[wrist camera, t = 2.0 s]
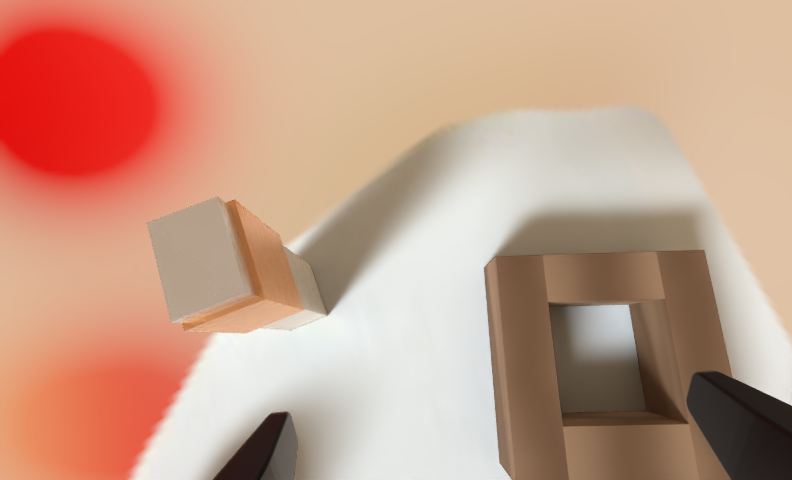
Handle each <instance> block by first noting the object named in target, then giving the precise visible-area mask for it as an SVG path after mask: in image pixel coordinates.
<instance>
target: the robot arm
mask: <svg viewBox="0 0 792 480" xmlns="http://www.w3.org/2000/svg"><path fill="white" fill-rule="evenodd" d="M686 404H687V407H688V410H689V412H690V414H691V415H692V417H693V419H694V420H695V422H696V424H697V425H698V427H699V429H700V430H701V432H702V433H703V435H704V437H705V438H706V440H707V442H708V443H709V445H710V447H711V448H712V450H713V452H714V453H715V455H716V457H717V458H718V460H719V462H720V463H721V465H722V467H723V468H724V470H725V471H726V473H727V474H728V476H729V478H730V479H731V480H792V406H791V405H789V404H787V403H785V402H783V401H780V400H778V399H776V398H774V397H772V396H770V395H768V394H765V393H763V392H761V391H759V390H757V389H755V388H753V387H751V386H748V385H746V384H744V383H742V382H740V381H738V380H736V379H733V378H731V377H729V376H727V375H725V374H723V373H721V372H718V371H715V370H708V371H698V372H695V373H694V374H693V375H692V378H691V381H690V385H689V389H688V393H687V397H686ZM297 446H298V443H297V436H296V432H295V428H294V425H293V421H292V417H291V415H290V413H289V412H276V413H271V414H270V415H269V416H268V417H267V418H266V419H265V420H264V421H263V422H262V424H261V425H260V426H259V427H258V428H257V429H256V430H255V432H254V433H253V434H252V435H251V436H250V437H249V439H248V440H247V441H246V442H245V443H244V444H243V445H242V447H241V448H240V449H239V450H238V451H237V452H236V454H235V455H234V456H233V457H232V458H231V459H230V460H229V462H228V463H227V464H226V465H225V466H224V467H223V469H222V470H221V471H220V472H219V473H218V474H217V476H216V477H215V478H214V479H213V480H294V474H295V465H296V457H297Z"/></svg>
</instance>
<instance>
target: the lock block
mask: <svg viewBox="0 0 792 480" xmlns="http://www.w3.org/2000/svg"><path fill="white" fill-rule="evenodd" d="M484 273H485V286H486V298H487V311H488V323H489V336H490V348H491V360H492V373H493V385H494V398H495V410H496V423H497V435H498V448H499V460H500V464H501V465H502V467H503V468H504V469H505V471H506V472H507V473H508V475H509V476H510V478H511V479H512V480H731V479H730V478H729V476H728V474H727V473H726V471H725V470H724V468H723V467H722V465H721V463H720V462H719V460H718V458H717V457H716V455H715V453H714V452H713V450H712V448H711V447H710V445H709V443H708V442H707V440H706V438H705V437H704V435H703V433H702V432H701V430H700V429H699V427H698V425H697V424H696V422H695V420H694V419H693V417H692V415H691V414H690V412H689V410H688V407H687V404H686V397H687V393H688V389H689V385H690V381H691V378H692V375H693V374H694V373H695V372H698V371H708V370H715V371H718V372H721V373H723V374H725V375H727V376H729V377H731V378H732V374H731V370H730V365H729V361H728V356H727V352H726V347H725V343H724V338H723V333H722V329H721V324H720V320H719V315H718V311H717V306H716V302H715V297H714V293H713V288H712V284H711V279H710V274H709V270H708V265H707V261H706V256H705V252H704V250H689V251H657V252H625V253H593V254H561V255H529V256H497V257H495V258H494V259H493V260H492V261H491V262H490V263H489V264H488V265H487V266H485V267H484ZM626 304H629V308H630V314H631V320H632V326H633V332H634V338H635V344H636V350H637V356H638V362H639V368H640V374H641V380H642V386H643V392H644V398H645V404H646V410H647V411H637V412H588V413H561V407H560V398H559V390H558V381H557V373H556V364H555V356H554V347H553V339H552V330H551V322H550V313H549V307H554V306H590V305H626Z"/></svg>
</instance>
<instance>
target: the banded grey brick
mask: <svg viewBox="0 0 792 480" xmlns="http://www.w3.org/2000/svg"><path fill="white" fill-rule="evenodd" d="M147 225H148V229H149V233H150V237H151V241H152V246H153V250H154V254H155V258H156V262H157V266H158V271H159V275H160V279H161V283H162V287H163V291H164V295H165V300H166V304H167V308H168V312H169V316H170V320H171V322H181V323H182V324H183V328H184V331H196V332H223V333H248V332H250V331H253V330H255V329H258V328H263V329H277V330H293V329H296V328H298V327H301V326H303V325H306V324H308V323H311V322H313V321H316V320H318V319H321V318H323V317H326V316H327V313H326V310H325V307H324V304H323V301H322V298H321V295H320V292H319V289H318V286H317V283H316V280H315V278H314V275H313V272H312V269H311V266H310V265H309V264H308V263H307V262H305V261H304V260H302V259H301V258H300V257H298V256H297V255H296V254H294V253H293V252H292V251H290V250H289V249H288V248H286V247H285V246H283V244H282V241H281V238H280V235H279V234H277V233H276V232H275V231H273V230H272V229H271V228H270V227H268V226H267V225H266V224H265V223H263V222H262V221H261V220H260V219H258V218H257V217H256V216H255V215H253V214H252V213H251V212H250V211H248V210H247V209H246V208H245V207H243V206H242V205H241V204H240V203H238V202H237V201H236V200H232V201H229V202H227V203H225V202H224V201H222V200H221V199H220V198H219V197H215V198H213V199H210V200H207V201H204V202H202V203H199V204H196V205H194V206H191V207H188V208H186V209H183V210H180V211H178V212H175V213H172V214H169V215H167V216H164V217H161V218H159V219H156V220H153V221H151V222H148V223H147Z"/></svg>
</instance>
